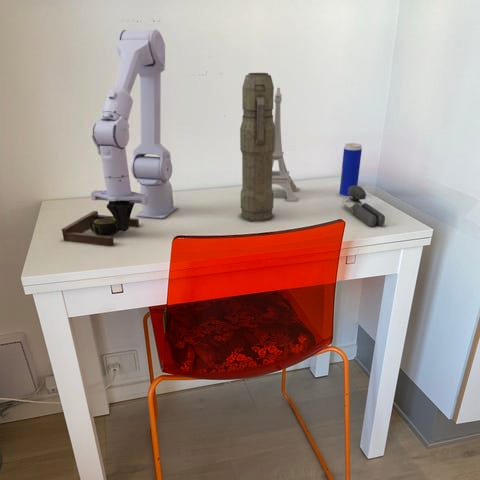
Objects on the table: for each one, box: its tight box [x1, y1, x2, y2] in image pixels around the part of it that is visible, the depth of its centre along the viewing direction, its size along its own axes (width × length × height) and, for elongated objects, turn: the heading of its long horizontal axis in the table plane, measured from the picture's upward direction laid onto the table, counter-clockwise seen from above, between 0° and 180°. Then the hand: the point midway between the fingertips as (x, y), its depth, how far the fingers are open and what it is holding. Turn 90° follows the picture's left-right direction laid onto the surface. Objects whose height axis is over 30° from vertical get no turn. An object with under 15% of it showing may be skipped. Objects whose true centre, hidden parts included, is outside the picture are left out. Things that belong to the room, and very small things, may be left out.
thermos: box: [239, 72, 275, 223], centre depth 120 cm, size 9×12×35 cm
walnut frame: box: [61, 210, 140, 247], centre depth 119 cm, size 14×13×3 cm
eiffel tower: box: [272, 87, 298, 202], centre depth 140 cm, size 13×13×30 cm
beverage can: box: [339, 142, 363, 198], centre depth 141 cm, size 5×5×15 cm
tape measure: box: [89, 217, 121, 236], centre depth 118 cm, size 7×7×4 cm
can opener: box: [340, 185, 386, 228], centre depth 128 cm, size 19×5×6 cm, turn 13°
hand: (124, 230), depth 117 cm, fingers closed
